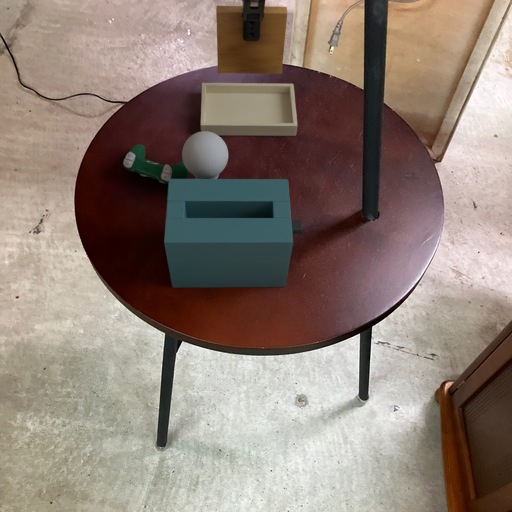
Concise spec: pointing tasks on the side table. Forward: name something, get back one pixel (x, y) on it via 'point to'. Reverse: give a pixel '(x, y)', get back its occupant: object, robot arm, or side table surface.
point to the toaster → (229, 232)
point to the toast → (250, 42)
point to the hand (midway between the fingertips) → (250, 34)
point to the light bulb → (205, 155)
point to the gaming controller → (153, 166)
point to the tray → (248, 109)
